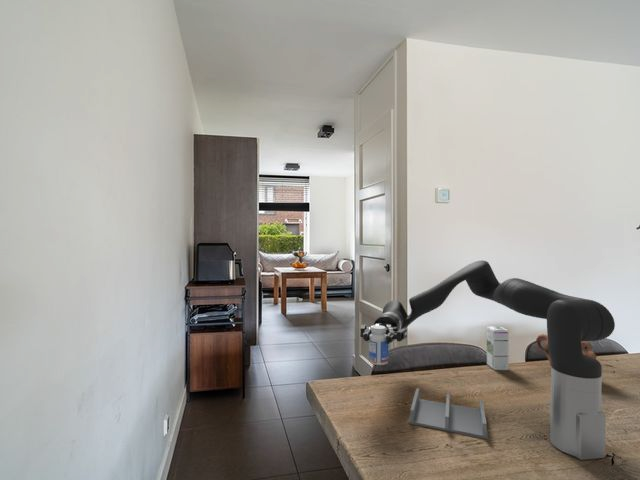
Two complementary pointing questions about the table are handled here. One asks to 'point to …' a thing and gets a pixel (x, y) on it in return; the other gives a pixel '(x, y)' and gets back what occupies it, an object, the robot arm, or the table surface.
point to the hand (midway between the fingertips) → (376, 338)
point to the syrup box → (497, 348)
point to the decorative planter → (585, 344)
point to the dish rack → (449, 416)
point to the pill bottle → (378, 345)
